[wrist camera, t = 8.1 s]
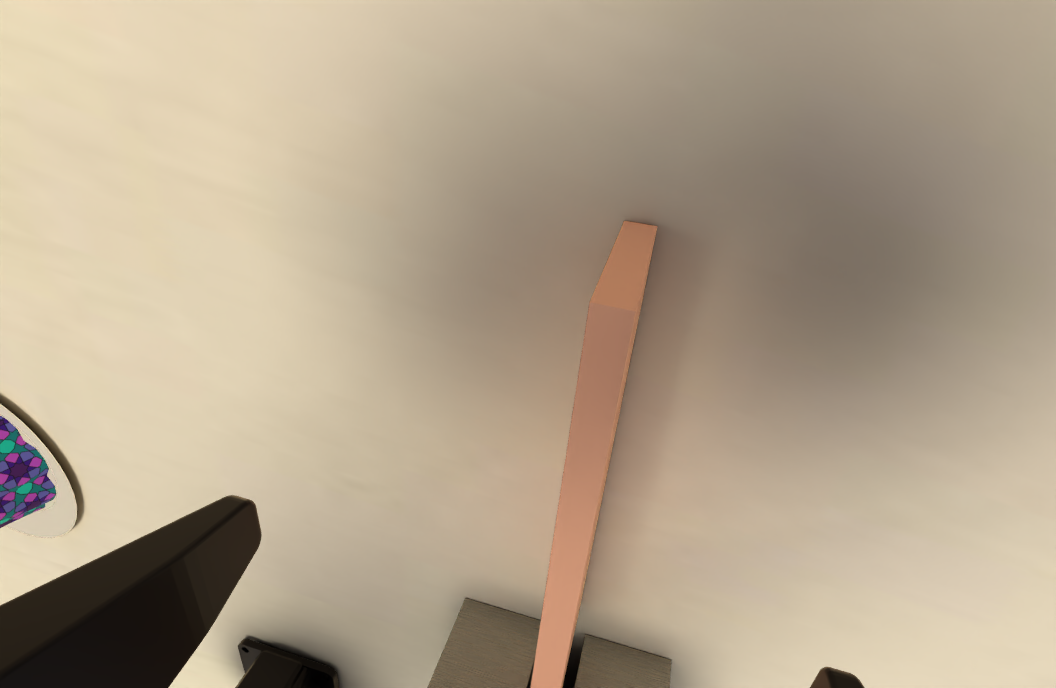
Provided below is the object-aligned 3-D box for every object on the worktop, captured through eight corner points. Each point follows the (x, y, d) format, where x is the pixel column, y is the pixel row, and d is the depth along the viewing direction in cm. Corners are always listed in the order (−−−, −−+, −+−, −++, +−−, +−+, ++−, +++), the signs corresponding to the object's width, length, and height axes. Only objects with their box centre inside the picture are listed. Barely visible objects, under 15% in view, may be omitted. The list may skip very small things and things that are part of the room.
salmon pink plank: (579, 608, 27) (549, 747, 22) (558, 602, 27) (522, 738, 22) (657, 226, 18) (636, 310, 12) (624, 220, 18) (589, 302, 13)
